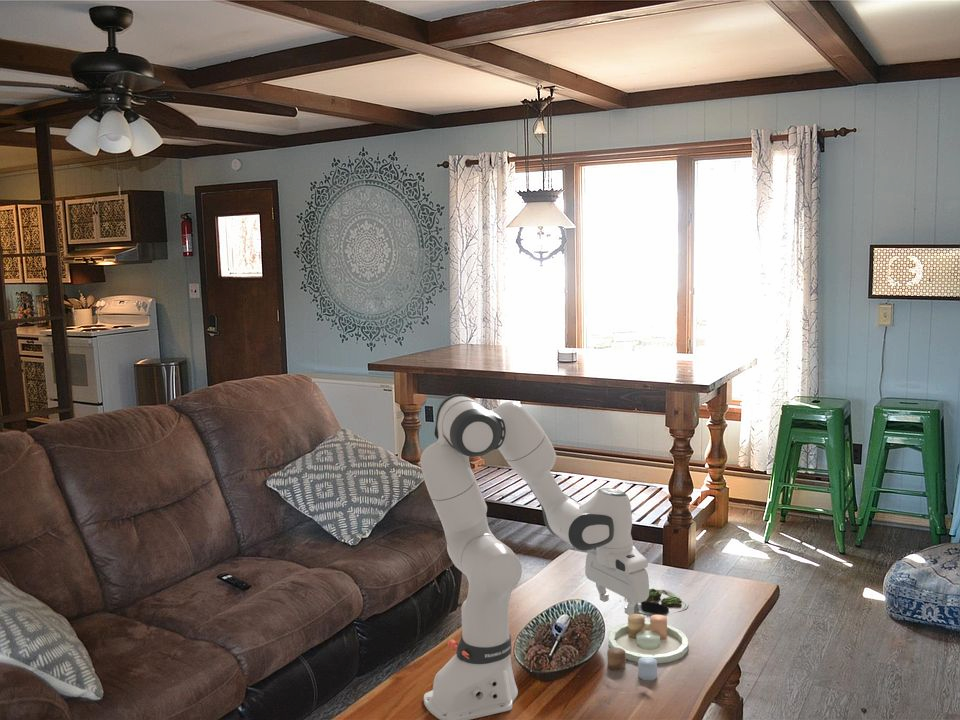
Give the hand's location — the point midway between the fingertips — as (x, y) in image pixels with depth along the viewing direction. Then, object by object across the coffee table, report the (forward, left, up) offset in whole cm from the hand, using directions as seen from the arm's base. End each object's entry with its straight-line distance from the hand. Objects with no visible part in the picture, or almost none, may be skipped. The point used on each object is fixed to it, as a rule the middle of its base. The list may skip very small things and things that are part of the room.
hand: (616, 607), depth 208 cm
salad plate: (+32, +22, -17) cm, 43 cm away
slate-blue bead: (+2, -8, -16) cm, 18 cm away
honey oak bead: (+14, +10, -15) cm, 23 cm away
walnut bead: (-1, 0, -16) cm, 16 cm away
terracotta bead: (+19, +6, -15) cm, 25 cm away
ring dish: (+13, +4, -16) cm, 21 cm away
